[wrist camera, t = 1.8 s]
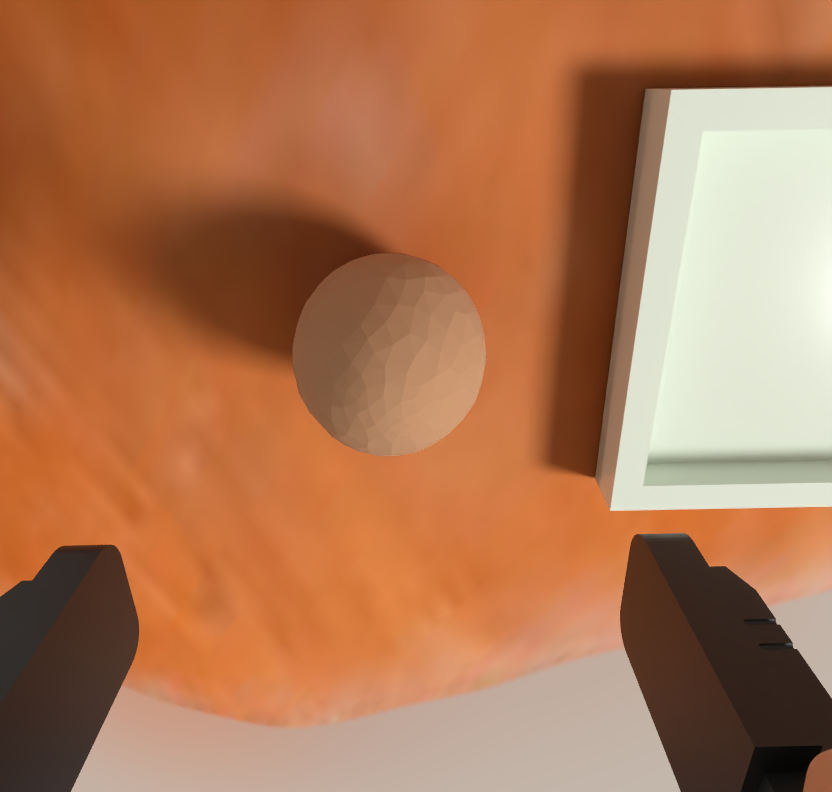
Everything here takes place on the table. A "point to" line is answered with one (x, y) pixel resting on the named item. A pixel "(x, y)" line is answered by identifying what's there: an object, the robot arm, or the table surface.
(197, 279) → the table surface
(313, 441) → the table surface
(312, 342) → the egg
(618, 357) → the dish
